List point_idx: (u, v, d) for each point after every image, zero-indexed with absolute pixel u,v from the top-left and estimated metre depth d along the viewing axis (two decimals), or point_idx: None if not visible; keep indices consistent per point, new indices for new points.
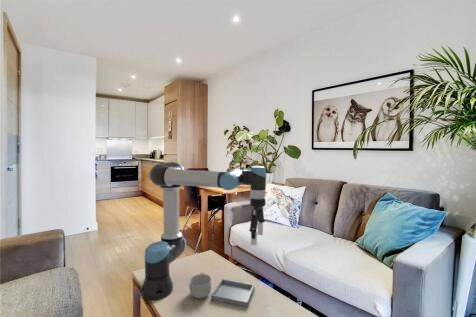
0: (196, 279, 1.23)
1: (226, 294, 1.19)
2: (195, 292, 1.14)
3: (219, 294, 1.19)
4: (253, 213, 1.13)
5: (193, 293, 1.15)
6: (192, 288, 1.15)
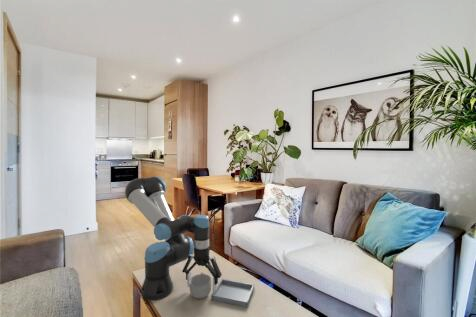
0: (196, 279, 1.23)
1: (226, 294, 1.19)
2: (195, 292, 1.14)
3: (219, 294, 1.19)
4: None
5: (193, 293, 1.15)
6: (192, 288, 1.15)
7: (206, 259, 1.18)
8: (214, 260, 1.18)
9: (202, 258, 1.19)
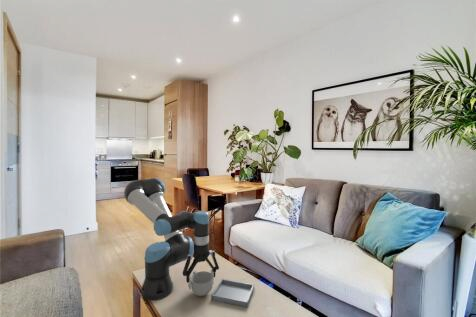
0: (193, 279, 1.21)
1: (226, 294, 1.19)
2: (204, 289, 1.15)
3: (219, 294, 1.19)
4: (187, 257, 1.18)
5: (201, 291, 1.15)
6: (200, 287, 1.14)
7: (207, 253, 1.20)
8: None
9: (203, 253, 1.19)
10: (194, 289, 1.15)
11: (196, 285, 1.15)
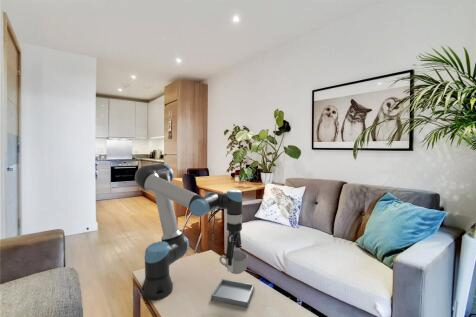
0: None
1: (226, 294, 1.19)
2: (246, 264, 1.17)
3: (219, 294, 1.19)
4: (229, 240, 1.12)
5: (245, 266, 1.16)
6: (245, 262, 1.16)
7: None
8: None
9: (237, 231, 1.19)
10: (239, 268, 1.14)
11: (242, 262, 1.14)
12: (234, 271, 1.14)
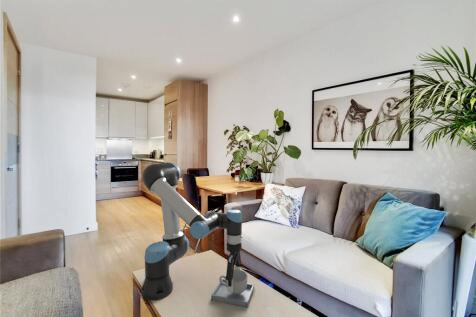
0: None
1: (226, 294, 1.19)
2: (246, 284, 1.18)
3: (219, 294, 1.19)
4: (229, 261, 1.13)
5: (245, 286, 1.17)
6: (245, 282, 1.16)
7: None
8: None
9: None
10: (239, 288, 1.14)
11: (242, 283, 1.15)
12: (234, 291, 1.15)
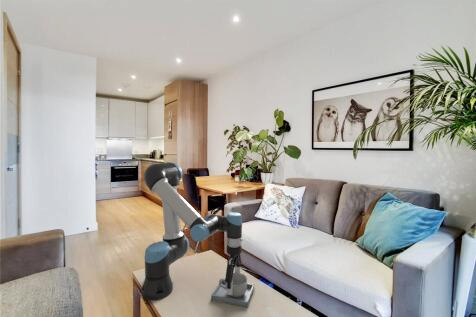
0: None
1: (226, 294, 1.19)
2: (246, 287, 1.18)
3: (219, 294, 1.19)
4: (228, 263, 1.12)
5: (245, 290, 1.17)
6: (244, 286, 1.16)
7: None
8: None
9: (236, 254, 1.20)
10: (239, 292, 1.15)
11: (242, 286, 1.15)
12: (234, 295, 1.15)
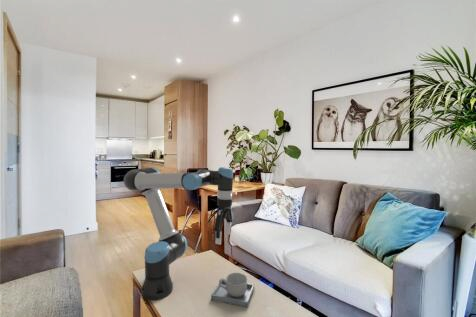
0: None
1: (226, 294, 1.19)
2: (246, 287, 1.18)
3: (219, 294, 1.19)
4: (218, 213, 1.16)
5: (245, 290, 1.17)
6: (244, 286, 1.16)
7: (228, 207, 1.25)
8: None
9: (227, 208, 1.23)
10: (239, 292, 1.15)
11: (242, 286, 1.15)
12: (234, 295, 1.15)
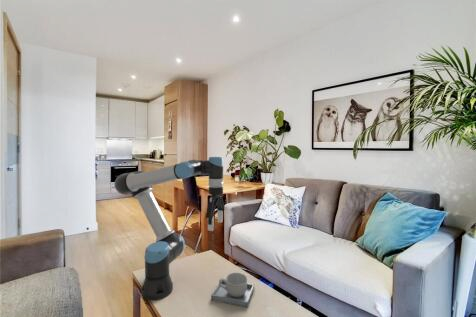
0: None
1: (226, 294, 1.19)
2: (246, 287, 1.18)
3: (219, 294, 1.19)
4: (210, 200, 1.20)
5: (245, 290, 1.17)
6: (244, 286, 1.16)
7: (219, 195, 1.29)
8: None
9: (218, 196, 1.27)
10: (239, 292, 1.15)
11: (242, 286, 1.15)
12: (234, 295, 1.15)
